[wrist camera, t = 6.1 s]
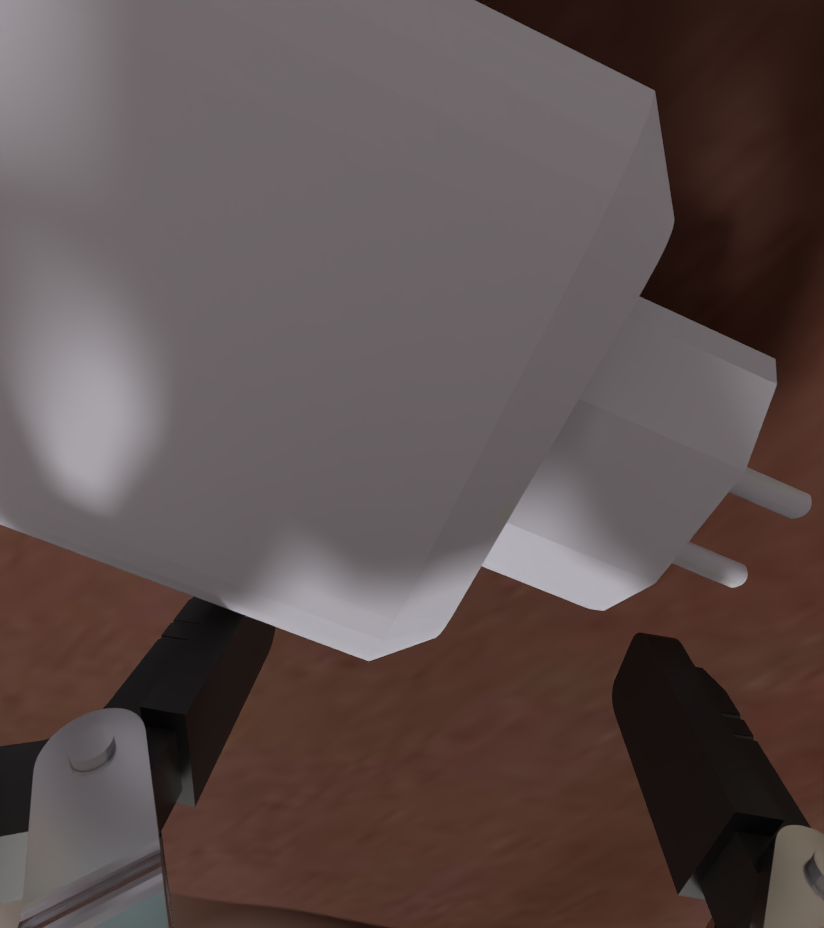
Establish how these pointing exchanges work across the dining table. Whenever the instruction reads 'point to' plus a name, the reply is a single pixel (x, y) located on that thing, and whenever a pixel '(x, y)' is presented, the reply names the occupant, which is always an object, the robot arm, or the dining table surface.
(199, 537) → the charger
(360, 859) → the dining table surface
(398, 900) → the dining table surface
